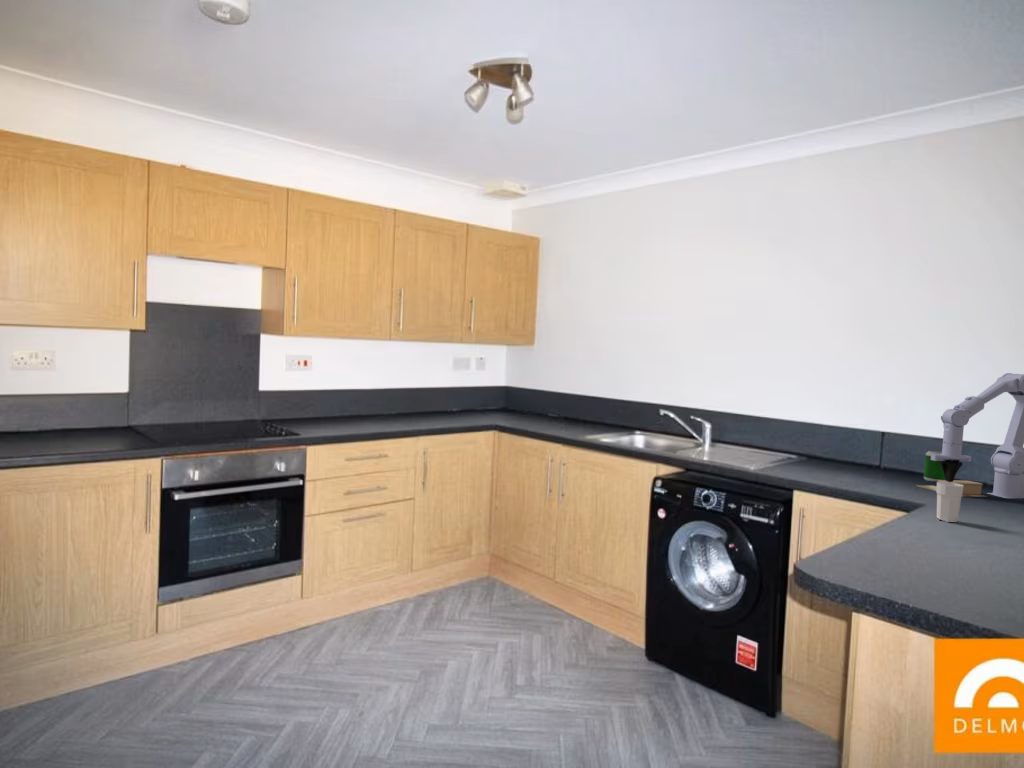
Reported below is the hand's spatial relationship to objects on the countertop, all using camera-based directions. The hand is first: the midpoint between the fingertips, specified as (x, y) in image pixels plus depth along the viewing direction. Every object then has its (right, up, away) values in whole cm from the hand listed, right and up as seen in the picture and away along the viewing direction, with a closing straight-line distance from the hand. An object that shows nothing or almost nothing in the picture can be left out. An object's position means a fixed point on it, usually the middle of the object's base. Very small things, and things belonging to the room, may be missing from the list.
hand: (949, 481), depth 232 cm
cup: (-27, -6, -39) cm, 48 cm away
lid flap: (+4, -1, +1) cm, 4 cm away
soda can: (+11, -4, +24) cm, 27 cm away
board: (+4, -5, +4) cm, 7 cm away
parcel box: (+4, -4, +1) cm, 6 cm away
